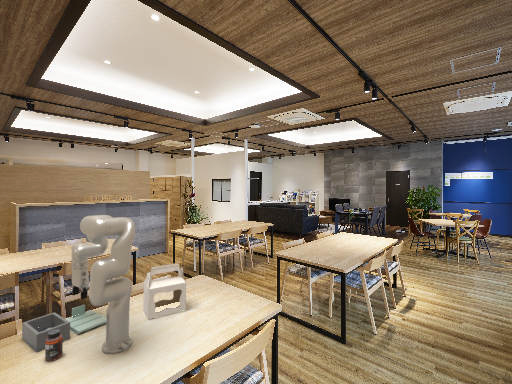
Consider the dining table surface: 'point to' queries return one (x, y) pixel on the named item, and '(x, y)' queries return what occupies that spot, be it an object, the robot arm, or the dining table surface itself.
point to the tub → (44, 330)
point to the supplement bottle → (53, 345)
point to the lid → (84, 319)
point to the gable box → (164, 285)
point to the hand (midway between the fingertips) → (79, 296)
